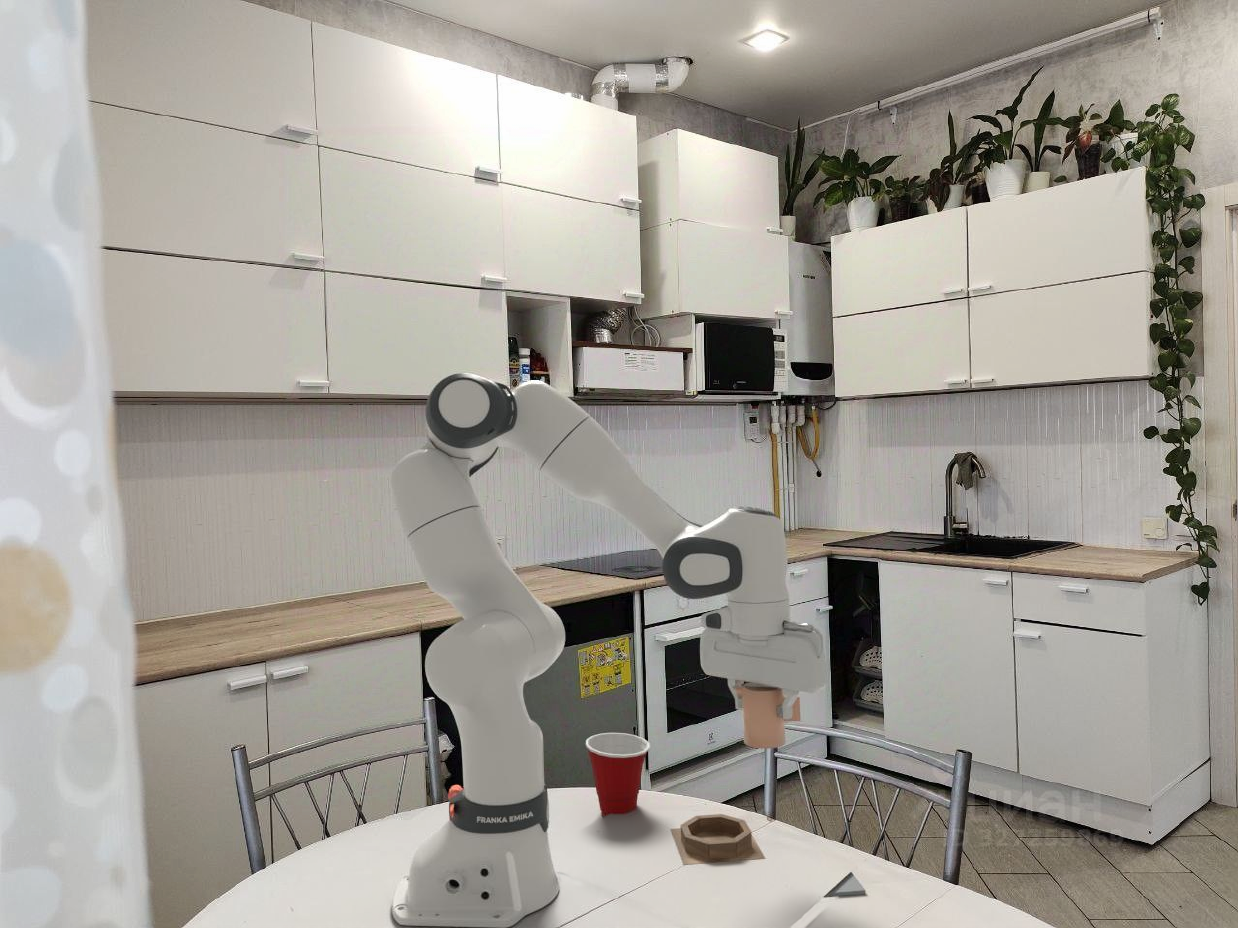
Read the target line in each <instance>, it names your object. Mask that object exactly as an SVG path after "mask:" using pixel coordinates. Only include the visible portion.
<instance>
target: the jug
mask: <svg viewBox="0 0 1238 928" xmlns="http://www.w3.org/2000/svg"><path fill="white" fill-rule="evenodd" d="M741 685H742V686H741V687H735V693H736V694H742V710H741V711H742V712H741V713H742V728H743V729H742V730H743V743H744V744H745V745H746V746H747V747H751V748H755V749H763V750H764V749H765V750H766V749H768V750H769V749H776V748H780V747H782V746H784V745H785V744H786V742H787V740H786V723H788V722H801V702H800V695H798V696H797V698H796V700H795V702H794V704H793V705H792V708H793V716H792V718H790V719H783V718H778V716H777V713H778V711H777V706H778V705H781V704H783V702H784V700H785V697H786V696H784V695H782V688H779V687H774V686H768V685H762V684H757V683H751V682H746V683H743V684H741Z"/></svg>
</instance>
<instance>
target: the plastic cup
mask: <svg viewBox="0 0 1238 928" xmlns="http://www.w3.org/2000/svg"><path fill="white" fill-rule="evenodd" d="M585 747H586V748H587V750H588V754H589V757H590V763H591V767H592V768H591V769H592V773H593V774H592V775H593V778H594V779H593V780H594V784H595V792H596V795H597V798H598V799H597V800H598V803H599V809H600V812H601V815H602V816H603V817H607V816H608V815H610V814H611V815H624V814H628V813H630V812H631V813H632V812H633V811H635V810H636V809H637V806H638V798H639V797H638V796H639V793H640V787H641V779H642V775H643V773H642V772H643V766H644V763H645V759H646V755H647V752H649V750H650V748H651V745H650V742H649V741H648V740H646V739H645V738H643V737H641V736H638V735H635V734H631V733H625V732H624V733H623V732H605V733H598V734H594V735H592V736H590V737H588V738H587V739H586V740H585Z"/></svg>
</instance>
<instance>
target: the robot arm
mask: <svg viewBox="0 0 1238 928" xmlns="http://www.w3.org/2000/svg"><path fill="white" fill-rule="evenodd" d="M425 419H426V421H425V422H426V424H425V427H426V429H425V430H426V440H425V443H424V445H423V446H422V447H420V448H419V449H417V450H415V451H413V452H410V453H407V455H405V456H404V457H403V458H401V459H400V460H399V461H398V462H397V463H396V464H395V466H394V468H393V469H392V471H391V474H390V475H391V476H390V483H391V489H392V494H393V498H394V502H395V506H396V509H397V513H398V516H399V520H400V522H401V524H402V525H401V526H402V528H403V530H404V533H405V536H406V538H407V540H408V542H409V545H410V547H411V549H412V552H413V555H414V557H415V559H416V562H417V564H418V566H419V569H420V571H421V574H422V576H423V578H424V580H425V583H426V585H427V587H428V588H429V590H431V591H432V592H433V593H434V594H435V595H436V596H438V597H441V598H443V599H444V600H446V601H447V602H448V603H449V604H451V606H453V608H454V609H455V610H456V611H457V612H458V613H459V615H460V616H461V617H462V618H463V620H461V621H458V622H456V623H455V624H453V625H451V627H449V628H447V629H446V630H445V631H444V632H442V633H441V634H439V635H438V636H437V637H436V638H435V639H434V640H433V641H432V642H431V644H430V646H429V647H428V649H427V652H426V655H425V660H424V669H425V676H426V679H427V683H428V684H429V687H430V688H431V690H432V692H434V694H435V695H436V696H437V697H438V698H439V699H440V700H442V702H445V703H446V704H447V705H448V706H449V708H450V710H451V712H452V715H453V716H454V719H455V723H456V726H457V729H458V733H459V737H460V745H461V758H462V759H461V761H462V779H463V780H462V781H463V782H462V783H463V787H462V786H461V785H459V784H454V785H452V786H450V788H449V791H448V795H447V798H448V801H449V802H448V815H449V819H448V820H447V821H446V822H444V823H443V824H442V825H440V826H439V828H436V830H435V831H433V832H432V833H431V834H429V835H427V837H426V838H424V839H423V841H422V842H421V843H420V844H419V846H417V849H416V850H415V853H414V854H413V855H414V856H413V858H412V861H411V863H410V868H409V872H408V873H406V874H405V875H404V876H403V878H401V880H400V881H399V883H397V886H396V888H395V890H394V892H393V896H392V902H391V903H392V904H391V914H392V917H393V919H394V921H395V922H397V924H398V925H400V926H415V927H418V926H420V927H421V926H423V927H424V926H425V927H456V928H457V927H459V928H460V927H461V928H462V927H463V928H464V927H465V928H467V927H468V928H509V927H513V926H514V925H515V924H518V922H519V921H521V919H523V918H524V917H525V916H526V915H529V914H531V913H534V912H536V911H539V910H540V909H542V908H544V907H545V906H547V905H548V904H550V903H551V902H552V901H553V900H554V899H555V898H556V897H557V895H558V893H559V890H560V882H559V880H558V877H557V875H556V874H557V873H556V871H555V867H554V863H553V859H552V854H551V848H550V842H549V834H548V829H549V823H550V800H549V796H550V795H549V794H548V787H547V785H546V783H545V771H544V769H545V768H544V767H545V766H544V737H543V732H542V729H541V728H540V726H539V725H538V723H537V722H535V721H534V720H533V719H531V718H530V716H529V712H528V710H527V706H526V703H525V699H524V692H523V691H524V685H525V683H527V682H529V681H530V680H532V679H534V678H536V677H538V676H540V675H542V674H544V673H545V672H546V671H547V670H549V668H550V667H551V666H552V665H553V664H554V663H555V661H556V660H557V659H558V658H559V656H560V655H561V653H562V652H563V650H564V648H565V644H566V643H565V642H566V630H565V626H564V624H563V621H562V619H561V617H560V616H559V614H557V612H556V611H555V610H554V609H553V608H552V607H550V606H549V605H547V604H545V603H543V602H541V601H540V600H539V599H538V598H537V597H536V596H534V594H533V593H532V592H531V591H530V589H529V588H528V587H527V586H526V585H525V583H524V582H523V581H522V580H521V578H520V577H519V576H518V575H517V574H516V572H515V571H514V569H513V568H512V566H511V564H509V562H508V560H507V559H506V557H505V555H504V553H503V552H502V550H501V547H500V546H499V543H498V542H497V540H496V537H495V535H494V533H493V531H492V529H491V527H490V524H489V522H488V520H487V518H486V516H485V513H484V511H483V509H482V507H481V505H480V503H479V500H478V498H477V496H476V494H475V492H474V489H473V486H472V483H471V479H470V478H471V476H473V475H474V474H475V473H476V472H478V471H479V470H481V468H483V467H485V466H486V465H487V464H488V463H489V462H490V461H491V460H492V459H493V458H494V456H495V455H496V454H497V451H498V450H499V448H506V449H510V450H513V451H515V452H517V453H519V454H520V455H522V456H524V457H526V458H527V460H528V461H529V462H530V463H531V464H532V465H533V466H535V468H537V470H539V471H540V473H542V475H544V476H545V477H546V478H547V479H548V480H549V481H551V482H552V483H554V485H556V486H557V487H558V488H559V489H561V490H563V491H564V492H565V493H567V494H570V495H571V496H572V497H574V498H576V499H578V500H581V501H585V502H589V503H594V504H595V505H600V506H602V507H604V508H607V509H609V510H610V511H613V512H614V513H615V514H617V515H618V516H620V517H621V518H622V519H623V520H625V522H627V523H628V524H629V525H630V526H631V527H633V528H634V530H636V531H637V532H638V533H639V534H640V535H641V536H643V538H645V540H647V541H648V542H649V543H650V544H651V545H653V546H654V548H655V549H656V550H657V551H658V553H659V554H660V556H661V559H662V564H661V565H662V568H661V569H662V574H663V578H664V581H665V583H666V584H667V586H668V588H669V589H671V590H672V592H674V593H675V594H677V595H678V596H680V597H683V598H684V599H685V598H686V599H690V600H703V599H704V600H705V599H707V598H711V597H715V596H719V595H724V594H727V595H726V596H727V605H724V606H723V607H720V608H718V609H715V610H712V611H708V612H706V613H703V614H701V616H700V624H701V627H702V628H703V629H704V630H703V631H702V632H701V634H700V638H699V639H700V641H699V642H700V643H699V655H700V656H699V657H700V666H701V669H702V670H703V672H704V673H705V675H708V676H712V677H718V678H723V679H727V686H728V688H729V691H730V692H731V694H732V696H733V698H734V704H735V709H736V710H741V711H742V694H736V693H735V687H741V686H742V685H744V684H745V683H744V682H746V683H750V682H751V683H757V684H762V685H768V686H774V687H779V688H782V695H784V696H786V697H785V700H784V702H783V704H781V705H778V706H777V711H778V713H777V716H778V718H783V719H790V718H792V716H793V708H792V705H793V704H794V702H795V700H796V698H797V696H798V695H799V694H800V692H801V693H808V694H809V693H810V694H813V693H817V692H819V691H821V690H823V689H824V688H825V687H826V686H827V685H828V681H829V677H828V668H827V663H826V657H825V652H824V637H823V634H822V633H821V632H820V630H819V629H817V628H815V627H814V624H810V623H800V622H795V621H791V612H790V611H791V610H790V609H791V606H790V605H791V604H790V593H789V590H788V587H787V583H786V582H787V581H786V576H787V572H788V569H789V568H788V552H787V551H788V550H787V548H788V547H787V541H786V534H785V530H784V525H783V522H782V520H781V519H780V518H779V517H778V516H777V515H776V514H775V513H773V512H772V511H770V510H768V509H762V508H757V507H751V506H734V507H730V508H729V509H728V510H727V511H726V512H725V513H723V514H722V515H721V516H719V517H717V518H716V519H714V520H713V521H711V522H709V523H706V524H705V525H702V524H698V523H695V522H692V521H689V520H687V519H685V518H684V517H683V516H681V515H680V514H679V513H678V512H677V511H676V510H674V508H672V507H671V506H670V505H669V504H668V503H667V502H666V501H664V500H663V499H662V498H661V497H660V496H659V495H658V494H657V493H655V492H654V491H653V490H652V489H651V488H650V487H649V486H648V485H647V484H646V483H645V482H644V481H643V480H642V479H641V478H640V476H639V475H638V473H636V471H635V469H634V468H633V467H632V465H631V464H630V462H629V460H628V459H627V457H626V456H625V454H624V453H623V451H622V450H621V449H620V447H619V446H618V445H617V443H616V441H614V439H613V438H612V437H611V436H610V435H609V434H608V432H607V430H605V428H603V427H602V426H601V424H600V423H598V422H597V421H596V419H595V418H593V416H591V415H590V414H589V413H587V412H586V411H585V409H584V408H583V407H580V405H579V404H577V403H576V402H575V401H573V400H572V399H570V398H569V397H567V396H566V395H565V394H564V393H562V392H560V391H559V390H558V389H556V388H555V387H554V386H551V385H550V384H548V383H547V382H544V381H541V380H529V381H526V382H523V383H521V384H520V385H518V386H516V387H515V388H514V389H511V388H510V387H509V386H508V385H506V384H504V383H501V382H497V381H493V380H489V379H487V378H485V377H482V376H480V375H476V374H473V373H466V372H459V373H453V374H451V375H449V376H446V377H445V378H442V379H441V380H440V381H439V382H438V383H437V384H436V385H435V386H434V387H433V389H432V390H431V392H430V394H429V396H428V398H427V400H426V405H425ZM799 696H800V695H799Z"/></svg>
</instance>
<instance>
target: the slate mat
mask: <svg viewBox="0 0 1238 928" xmlns="http://www.w3.org/2000/svg"><path fill="white" fill-rule="evenodd" d="M855 895H856V896H857V895H866V889H865V888H864V887H863V885H862V884H861V883H860V881H859V880H858V878H857V877H856V876H855V875H854V873H853V872H852V871H850V872H849V873H848V874H847V875H846V876H844V878H842V879H841V880H840V881H839V882H838V883H837V884H836V885H835V886H833V887H832V888H831V889H830V890H829V891H828V892H827V893H826V894H825V895H824V896H823V898H831V897H842V896H843V897H844V896H845V897H846V896H855Z"/></svg>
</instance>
